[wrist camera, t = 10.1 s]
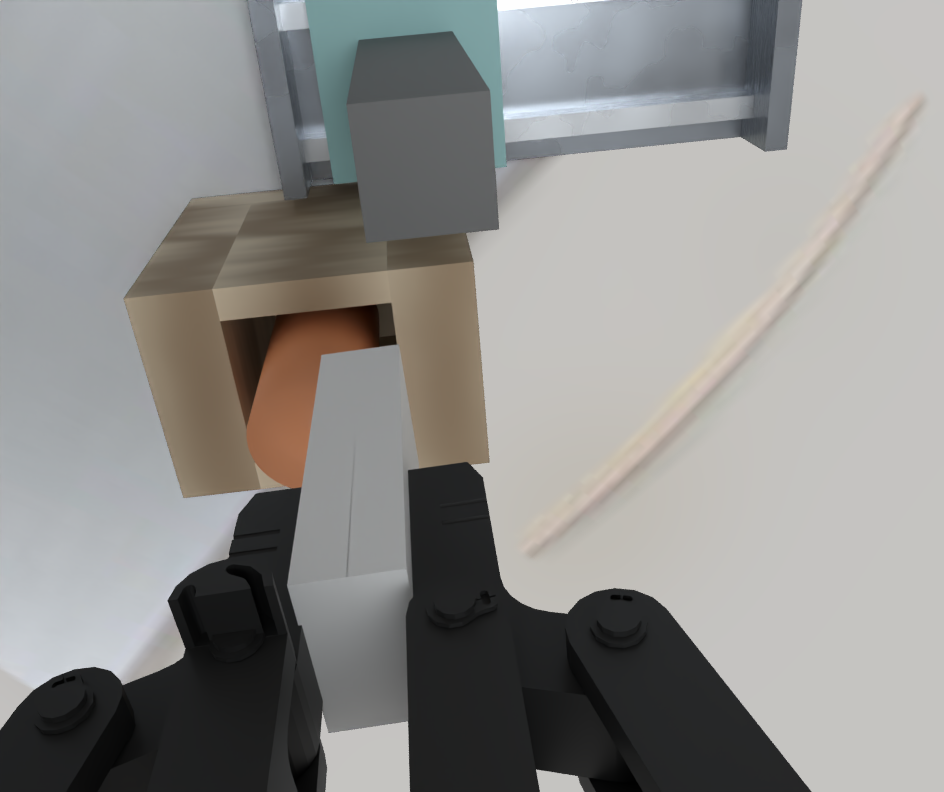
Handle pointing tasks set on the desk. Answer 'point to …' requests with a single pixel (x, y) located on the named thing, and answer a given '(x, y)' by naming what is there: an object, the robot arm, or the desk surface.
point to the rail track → (576, 77)
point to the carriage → (413, 110)
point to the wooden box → (293, 291)
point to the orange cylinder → (300, 383)
